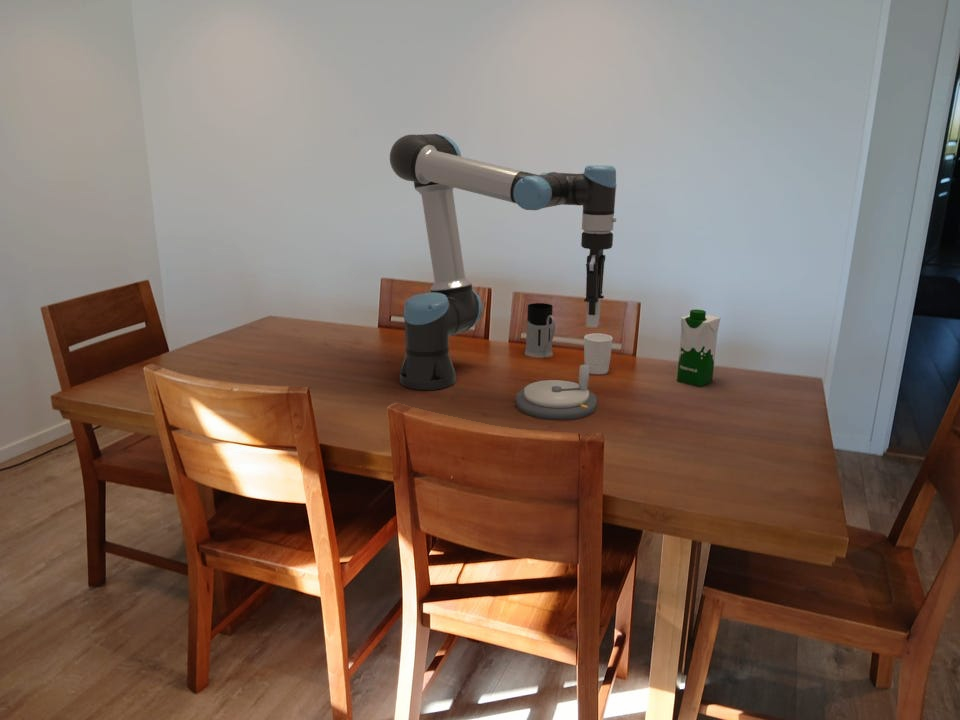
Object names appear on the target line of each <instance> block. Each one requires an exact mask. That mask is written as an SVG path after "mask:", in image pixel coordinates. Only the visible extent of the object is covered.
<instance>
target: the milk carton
mask: <svg viewBox="0 0 960 720" xmlns="http://www.w3.org/2000/svg"><path fill="white" fill-rule="evenodd" d="M720 321H721V317H719V316H715V315H714V316H713V315H707V311H706V310H703V309H690V310H689V314H687V315H684V316H682V317H680V323H681V325H680V326H681V327H680V328H681V329H680V331H681V332H680V342H679V353H678V364H677V374H676V375H677V376H676V378H677V379H676V381H677V382H678V383H679V382H680V383H684V384H688V385H692V386H696V387H699V388H701V387H703V386H705V385H707V384H708V383H710V382H712V381H713V377H714V369H715V368H714V367H715V366H714V365H715V357H716V348H717V340H718V339H717V338H718V333H719V327H720Z"/></svg>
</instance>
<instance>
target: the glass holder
mask: <svg viewBox="0 0 960 720" xmlns="http://www.w3.org/2000/svg"><path fill="white" fill-rule="evenodd" d="M553 307H554V306H553V304H550V303H543V302H537V303H536V302H534V303H529V304H527V317H526V337H525V345H526V346H525V351H524V355H525V356H527V357H529V356H530V358H538V359H543V358H544V357H545V358H550V357H552V356H553V355H554V353H553V340H554V336H555V332H556V331H555V330H556V319H555V317H554V316H553Z"/></svg>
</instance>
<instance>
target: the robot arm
mask: <svg viewBox="0 0 960 720" xmlns="http://www.w3.org/2000/svg"><path fill="white" fill-rule="evenodd" d="M389 163H390V166H391V169H392V171H393V172H394V173H395V175H397V177H398V178H400V179H402V180H404V181H407V182H413V186H414V187H413V188H414V190H415V191H417V192H418V193H419V195H421V201H422V207H423V215H424V220H425V221H424V222H425V227H426V233H427V235H426V236H427V240H428V245H429V246H428V247H429V254H430V259H431V267H432V274H433V279H434V283H433V284H432V285H431V287H430V288H429V289H430V292H424V293H419V294H418V293H417V294H414V295H412V296H410V297H409V298H408V299H407V300H406V301H405V303H404V312H403V319H404V344H405V347H404V348H405V355H404V357H403V362H402V366H401V370H400V373H399V383H400V385H402V386H403V387H405V388H407V389H412V390H419V391H435V390H441V389H445V388H448V387H451V386H453V385H454V384H455V383H456V371H455V368H454V364H453V362H452V359H451V356H450V347H449V346H450V341H449V338H451V337H453V336H456V335H458V334H460V333H465V332H467V331H469V330H470V329H471V328H472V327H474V326H475V325H477V324H478V323H479V321H480V319H481V317H482V314H483V304H482V303H483V302H482V299H481V297H480V295H479V294H477V292H476V291H475V290H474V289H473V285H472V282H471V281H470V280H469V279H467V278H466V275H465V268H464V261H463V253H462V245H461V241H460V240H461V239H460V233H459V225H458V218H457V212H456V205H455V197H454V189H458V190H461V191H462V190H463V191H467V192H470V193H472V194H473V193H474V194H478V195H481V196H485V197H489V198H493V199H497V200H501V201H505V202H508V203H509V202H510V203H513V204H516V205H518V207H520V208H521V209H523V210H526V211H539V210H542V209H546V208H551V207H556V206H561V205H562V206H563V205H565V206H567V205H568V206H582V217H581V230H583V232H582V233H581V242H580V243H581V244H580V246H581V247H582V248H583V249H587V250H589V254H588V255H587V256H586V263H585V266H586V267H585V269H586V283H585V284H586V285H585V286H586V288H585V298H584V300H583V301H584V303H585V302H586V303H587V304H586V318H585V319H586V320H585V321H586V322H585V328H595V329H597V328H598V326H599V325H600V319H601V318H600V316H601V299H604V294H603V287H604V286H603V284H604V272H605V261H606V255H605V254H604V250H610V249H612V247H613V244H614V243H613V241H614V234H613V232H612V231H613V230H614V223H616V222H617V218H616V217H614V216H615V206H616V205H615V204H616V203H615V202H616V192H617V191H616V190H617V170H616V167H614V166H612V165H603V164H602V165H597V164H596V165H593V164H590V165H587V166H585V167H584V172H583V173H568V172H556V171H552V172H551V171H550V172H542V173H540V174H537V173H532V172H527V171H524V170H523V171H522V170H519V169H514V168H510V167H506V166H501V165H497V164H493V163H489V162H485V161H480V160H476V159H473V158H468V157H463V156H462V153H461V150H460V148H459V146H458V145H457V143H456V142H455V141H454V140H453V139H452V138H450V137H449V136H446V135H442V134H439V133H431V134H407V135H403V136H402V137H399V138H398V139H396V141H395V142H394V144H393V145H392V146H391V149H390V152H389ZM602 294H603V295H602Z"/></svg>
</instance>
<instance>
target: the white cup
mask: <svg viewBox="0 0 960 720" xmlns="http://www.w3.org/2000/svg"><path fill="white" fill-rule="evenodd" d="M583 341H584V342H583V343H584V344H583V345H584V346H583V347H584V349H583V350H584V351H583V357H584V359H583V360H584V365H589V375H590V374H591V375H605V374H607V373H609V370H610V369H609V367H610V364H611V363H610V362H611V356H612V348H613V347H612V345H613V336H612V335H609V334H605V333H589V334H585V335H584V337H583Z"/></svg>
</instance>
